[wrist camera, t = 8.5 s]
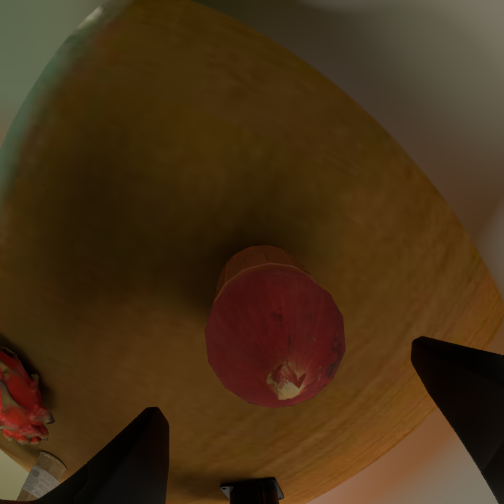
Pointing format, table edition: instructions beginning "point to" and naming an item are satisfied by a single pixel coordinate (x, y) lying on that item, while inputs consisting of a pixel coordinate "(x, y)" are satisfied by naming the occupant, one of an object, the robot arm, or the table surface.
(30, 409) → the dragon fruit
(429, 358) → the robot arm
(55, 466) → the sprinkles bottle
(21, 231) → the table surface
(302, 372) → the onion
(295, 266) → the cup
